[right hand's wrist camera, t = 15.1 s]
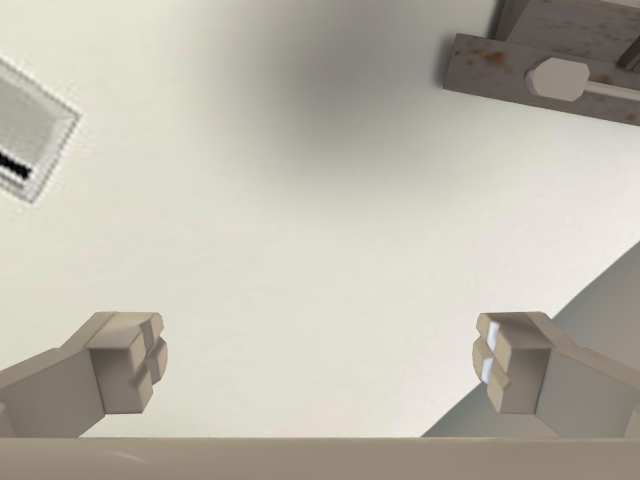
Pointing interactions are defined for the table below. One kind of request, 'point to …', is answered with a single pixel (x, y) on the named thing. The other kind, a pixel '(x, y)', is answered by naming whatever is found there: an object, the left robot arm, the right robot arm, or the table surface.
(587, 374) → the right robot arm
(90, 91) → the table surface
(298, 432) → the table surface
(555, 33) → the toy
